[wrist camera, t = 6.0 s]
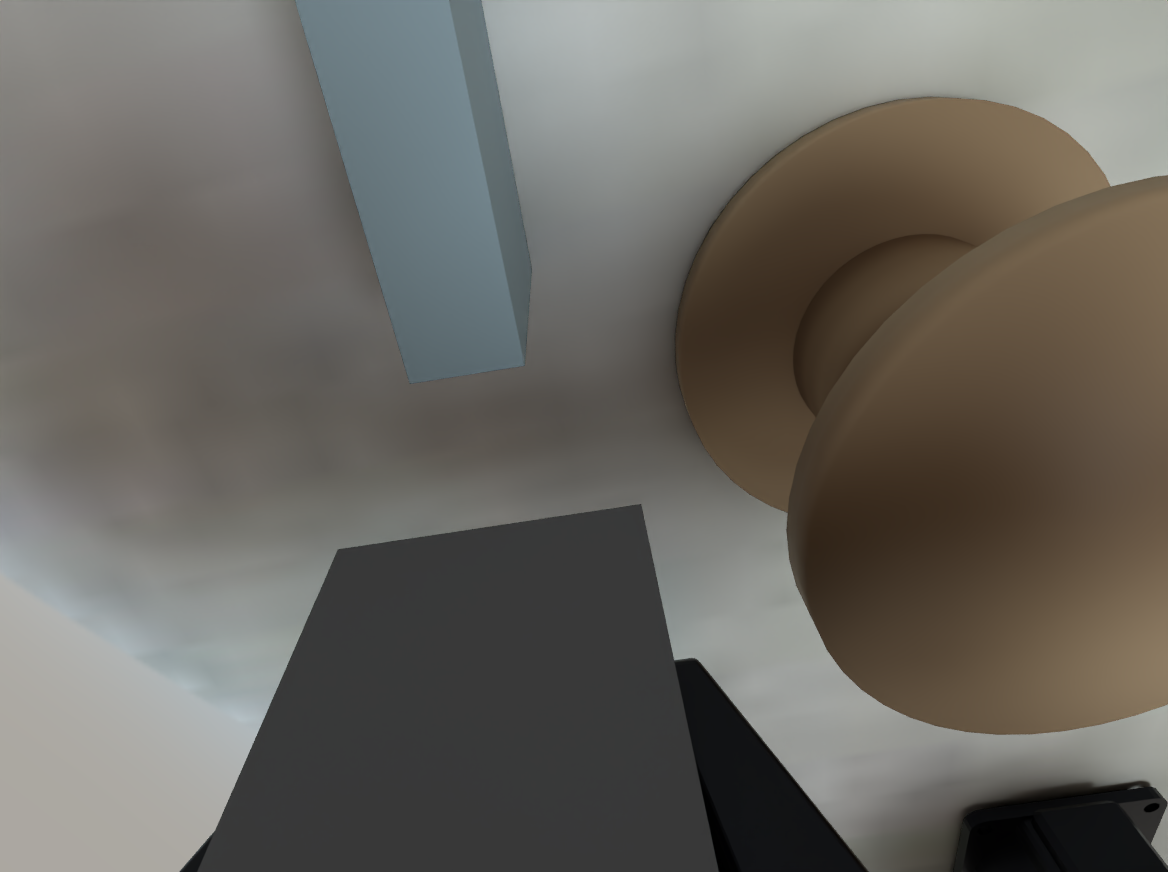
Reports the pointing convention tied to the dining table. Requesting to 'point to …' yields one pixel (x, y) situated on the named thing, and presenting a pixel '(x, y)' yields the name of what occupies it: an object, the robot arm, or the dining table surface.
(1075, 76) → the dining table surface
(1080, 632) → the bobbin
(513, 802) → the dark gray rectangular block
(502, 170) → the grey blocks
